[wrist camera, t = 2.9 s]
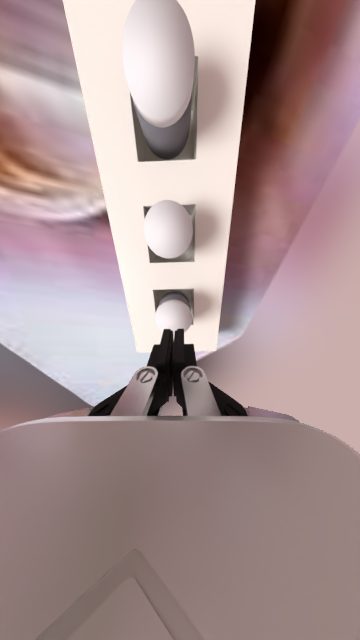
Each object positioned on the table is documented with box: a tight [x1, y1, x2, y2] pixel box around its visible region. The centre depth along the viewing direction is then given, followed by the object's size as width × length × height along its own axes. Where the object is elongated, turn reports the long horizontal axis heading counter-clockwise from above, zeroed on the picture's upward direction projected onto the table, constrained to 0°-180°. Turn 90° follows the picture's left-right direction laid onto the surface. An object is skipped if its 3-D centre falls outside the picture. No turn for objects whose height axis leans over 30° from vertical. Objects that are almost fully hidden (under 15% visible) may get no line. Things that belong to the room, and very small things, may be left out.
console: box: [63, 0, 255, 352], centre depth 16 cm, size 30×12×5 cm, turn 2°
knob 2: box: [155, 291, 192, 336], centre depth 17 cm, size 4×4×4 cm
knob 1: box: [122, 0, 195, 160], centre depth 9 cm, size 4×4×4 cm
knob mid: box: [144, 200, 193, 259], centre depth 13 cm, size 4×4×4 cm
